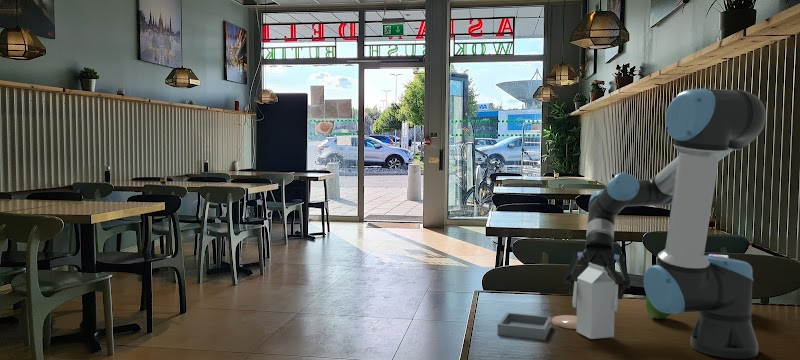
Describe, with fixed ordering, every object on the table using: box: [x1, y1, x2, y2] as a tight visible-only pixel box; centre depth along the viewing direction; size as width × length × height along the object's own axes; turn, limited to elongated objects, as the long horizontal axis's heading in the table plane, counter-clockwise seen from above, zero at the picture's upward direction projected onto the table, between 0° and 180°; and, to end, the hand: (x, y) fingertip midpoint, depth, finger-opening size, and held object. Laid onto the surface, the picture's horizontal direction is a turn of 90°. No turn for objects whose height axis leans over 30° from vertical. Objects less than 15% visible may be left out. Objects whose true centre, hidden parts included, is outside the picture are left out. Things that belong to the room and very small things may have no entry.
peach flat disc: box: [551, 314, 577, 330], centre depth 182 cm, size 11×11×1 cm
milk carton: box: [575, 263, 616, 340], centre depth 170 cm, size 7×7×19 cm
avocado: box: [645, 294, 672, 320], centre depth 186 cm, size 8×8×12 cm
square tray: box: [496, 312, 553, 341], centre depth 175 cm, size 13×13×3 cm
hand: (594, 306), depth 167 cm, fingers closed on milk carton, 10 cm apart
